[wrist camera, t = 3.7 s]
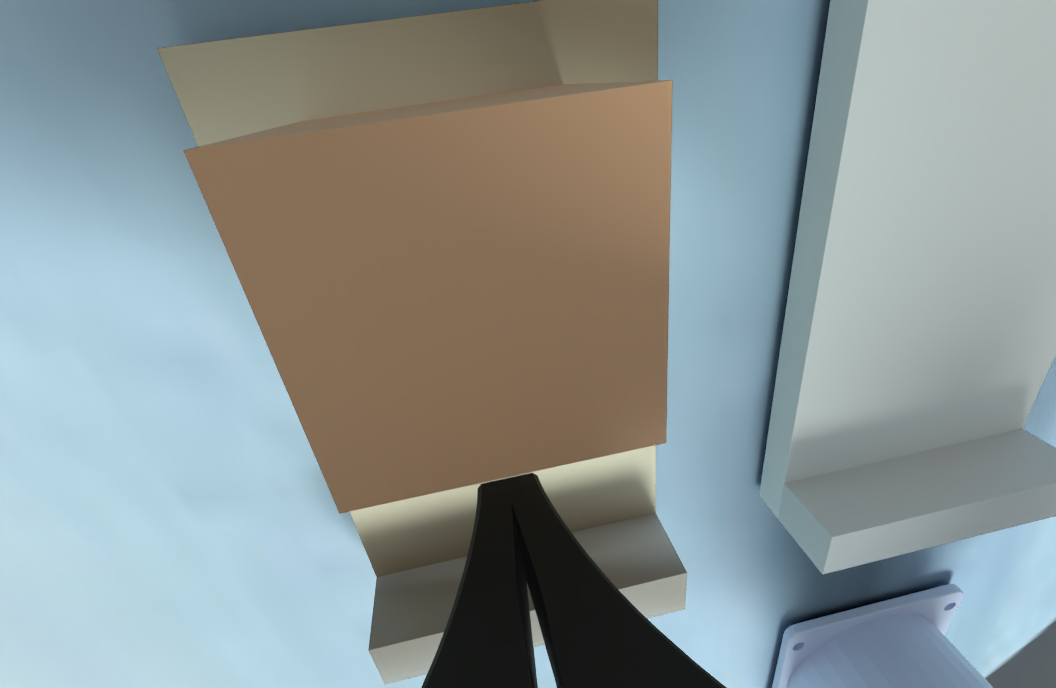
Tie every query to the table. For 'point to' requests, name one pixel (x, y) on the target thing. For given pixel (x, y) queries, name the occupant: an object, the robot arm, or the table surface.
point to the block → (459, 280)
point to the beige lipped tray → (418, 78)
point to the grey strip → (920, 283)
